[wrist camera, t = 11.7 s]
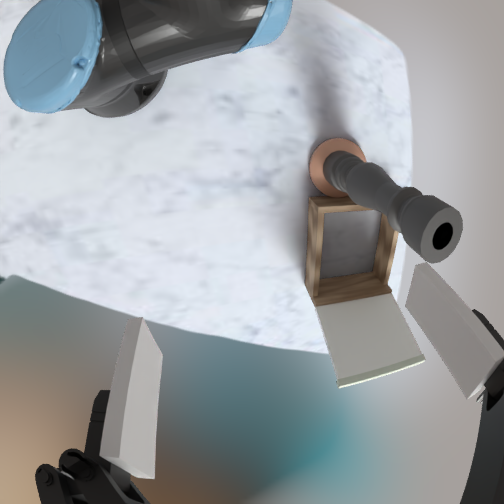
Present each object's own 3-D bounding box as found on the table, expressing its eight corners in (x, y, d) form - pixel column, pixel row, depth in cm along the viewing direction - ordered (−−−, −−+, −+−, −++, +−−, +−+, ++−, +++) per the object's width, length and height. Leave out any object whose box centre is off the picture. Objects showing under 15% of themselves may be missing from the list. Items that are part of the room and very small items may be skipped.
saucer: (309, 137, 41) (311, 138, 40) (364, 138, 42) (368, 140, 41) (308, 196, 46) (310, 199, 45) (361, 194, 47) (364, 196, 46)
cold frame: (308, 196, 46) (335, 226, 36) (388, 193, 47) (427, 219, 37) (302, 310, 58) (319, 353, 48) (369, 299, 59) (393, 335, 49)
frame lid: (314, 306, 49) (343, 374, 35) (391, 292, 50) (432, 347, 36) (312, 323, 51) (338, 389, 37) (387, 308, 52) (423, 363, 39)
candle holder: (325, 190, 44) (415, 273, 23) (319, 153, 41) (420, 212, 20) (358, 182, 44) (459, 255, 23) (354, 147, 41) (467, 198, 19)
